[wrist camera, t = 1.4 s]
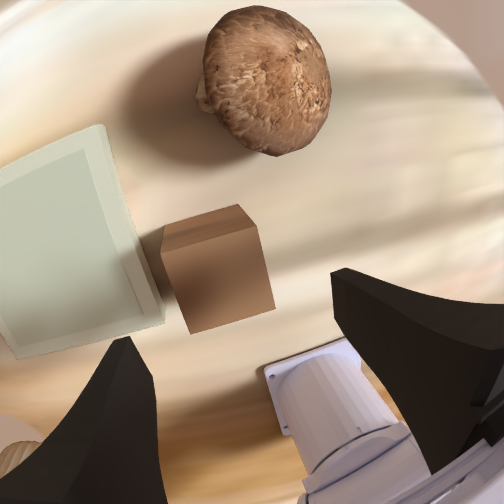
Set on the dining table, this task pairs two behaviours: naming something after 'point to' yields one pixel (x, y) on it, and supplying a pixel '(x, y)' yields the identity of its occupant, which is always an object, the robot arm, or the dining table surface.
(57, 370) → the dining table surface
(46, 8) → the dining table surface
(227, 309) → the walnut block
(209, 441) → the dining table surface
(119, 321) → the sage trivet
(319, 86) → the mushroom
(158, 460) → the robot arm
